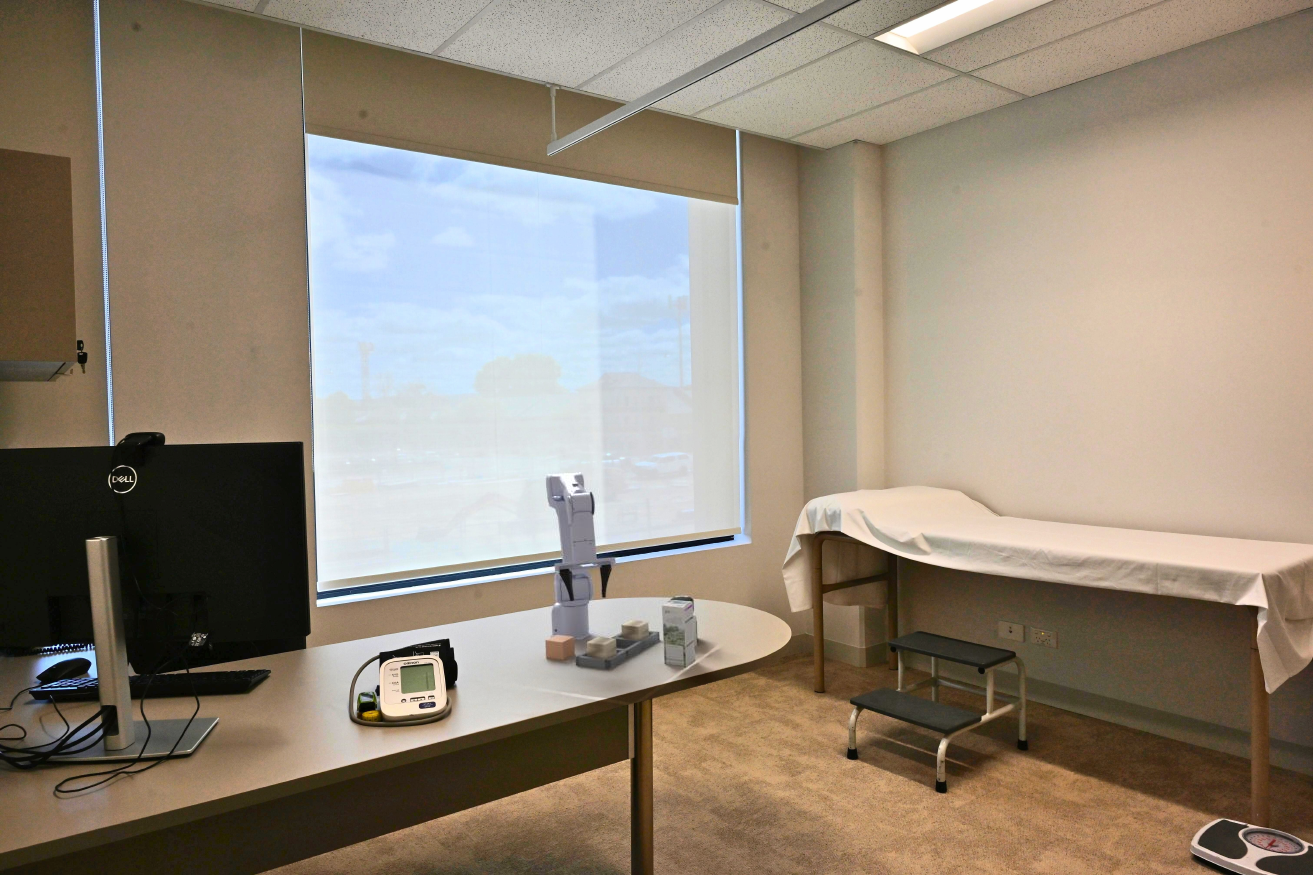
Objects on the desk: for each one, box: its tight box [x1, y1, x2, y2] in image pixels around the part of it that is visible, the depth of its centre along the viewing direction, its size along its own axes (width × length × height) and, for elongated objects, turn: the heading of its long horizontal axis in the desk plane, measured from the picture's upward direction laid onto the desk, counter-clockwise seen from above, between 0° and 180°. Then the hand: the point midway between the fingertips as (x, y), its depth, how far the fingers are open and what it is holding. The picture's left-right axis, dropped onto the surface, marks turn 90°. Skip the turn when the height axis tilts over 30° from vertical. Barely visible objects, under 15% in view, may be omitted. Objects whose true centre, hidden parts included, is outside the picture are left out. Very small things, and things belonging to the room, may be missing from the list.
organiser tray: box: [575, 630, 660, 671], centre depth 200 cm, size 9×25×3 cm, turn 152°
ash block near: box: [586, 636, 617, 659], centre depth 193 cm, size 5×5×5 cm
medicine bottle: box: [670, 595, 699, 647], centre depth 206 cm, size 7×7×12 cm
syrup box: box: [661, 599, 696, 669], centre depth 191 cm, size 6×6×14 cm
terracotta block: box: [544, 635, 576, 661], centre depth 199 cm, size 5×5×5 cm
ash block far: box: [621, 619, 650, 640], centre depth 207 cm, size 5×5×5 cm
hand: (588, 599), depth 194 cm, fingers open, 7 cm apart
